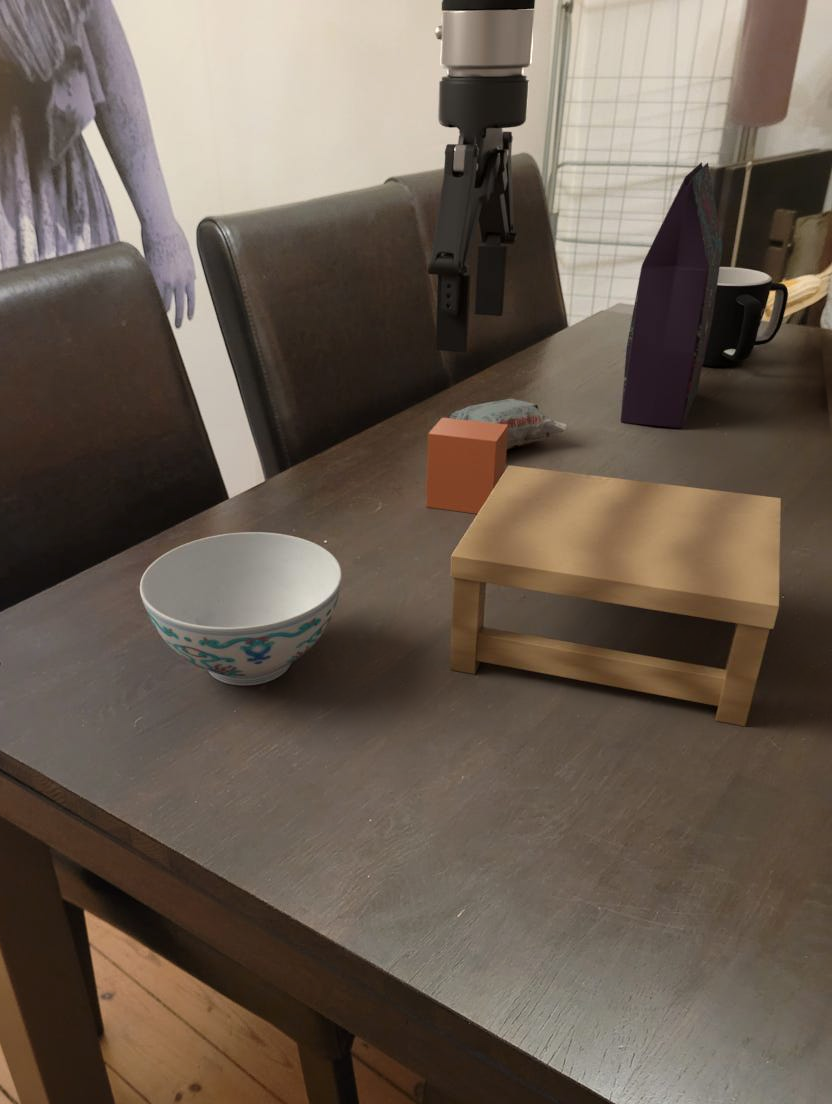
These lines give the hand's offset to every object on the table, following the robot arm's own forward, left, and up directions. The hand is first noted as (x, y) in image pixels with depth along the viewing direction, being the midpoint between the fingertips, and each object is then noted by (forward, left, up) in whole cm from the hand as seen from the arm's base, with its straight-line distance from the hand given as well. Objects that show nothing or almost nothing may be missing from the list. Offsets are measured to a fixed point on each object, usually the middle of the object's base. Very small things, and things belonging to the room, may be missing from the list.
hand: (471, 331), depth 91 cm
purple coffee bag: (-16, -37, -18) cm, 44 cm away
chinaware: (+8, +35, -18) cm, 40 cm away
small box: (0, 0, -18) cm, 18 cm away
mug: (-21, -61, -18) cm, 67 cm away
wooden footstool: (-18, +22, -18) cm, 34 cm away
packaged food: (0, -17, -18) cm, 25 cm away
